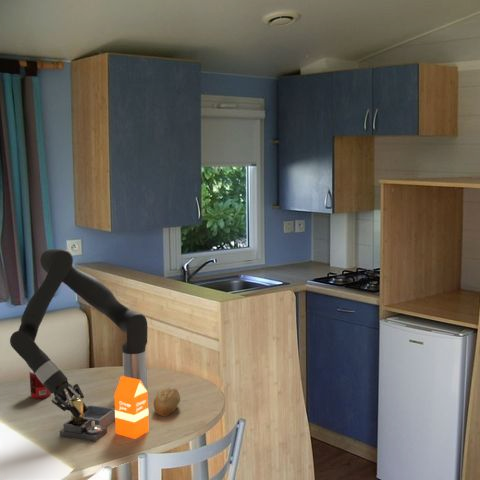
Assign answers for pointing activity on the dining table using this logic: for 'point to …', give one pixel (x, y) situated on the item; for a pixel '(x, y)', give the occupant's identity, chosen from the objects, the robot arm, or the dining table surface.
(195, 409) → the dining table surface
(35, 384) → the canned food
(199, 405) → the dining table surface
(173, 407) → the bread roll
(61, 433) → the crank housing
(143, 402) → the orange juice
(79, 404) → the cylinder
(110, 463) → the dining table surface
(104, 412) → the tray
